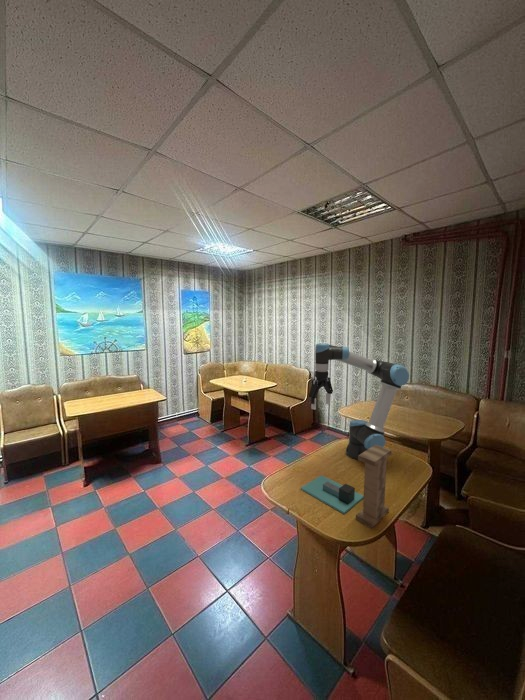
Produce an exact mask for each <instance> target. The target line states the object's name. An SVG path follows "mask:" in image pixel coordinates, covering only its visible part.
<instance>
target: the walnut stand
mask: <svg viewBox="0 0 525 700" xmlns="http://www.w3.org/2000/svg"><path fill="white" fill-rule="evenodd" d="M392 452H393V451H392V449H389V448H387V447H385V446H384V447H381V446H378V445H374V446H373V447H371V448H369V449H368V450H366V451H365V452H363V453H361V454H360V455H358V460H357V461H360V462H362V463H364V476H363V477H364V480H363V496H364V498H363V505H362V509H361V510H360V511H359V512H358V513H356V514H355V520H357V521H358V522H359V523H361V524H364V525H365V526H367V527H369V528H370V529H373V528H374V527H375V526H376V525H377V524H378V523H379V522H380V521H381V520H382V519H383V518H384V517H385V516H386V515H387V514H388V513H389V507H390V506H389V507H388V506H386V505H385V501H386V499H385V498H386V497H385V496H386V483H387V482H386V479H387V464H388V463H387V462H388V461H387V460H388V458H389V457H390V456H391V455H392Z"/></svg>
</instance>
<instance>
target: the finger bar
mask: <svg viewBox="0 0 525 700" xmlns="http://www.w3.org/2000/svg"><path fill="white" fill-rule="evenodd" d="M323 490H324V491H326V492H328V493H329V494H331V495H333V496H335V497H337V498H339V500H340V501H342V502H344V503H345V504H347V505H348V504H349V503H351V502H352V501H353V500H354V496H355V492H356V488H355V487H354V486H352V485H349V484H347V483H344V484H343V486H342V487H340V488H339V487H337V486H335V485H333V484H331V483H329V482H326V483H324V484H323Z"/></svg>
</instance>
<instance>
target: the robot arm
mask: <svg viewBox="0 0 525 700" xmlns="http://www.w3.org/2000/svg"><path fill="white" fill-rule="evenodd" d="M314 353H315V354H314V355H315V358H314V360H315V362H314V363H315V365H314V370H315V371H314V376H315V377H314V378H316V380H315V379H313V380H312V383H311V387H310V388H309V389H310V390H309V393H308V398H310V404H311V407H310V408H311V410H314V411H315V410H317V398H316V397H317V394H318V392H319V391H320V389H322V387H323V388H324V390H325V392H326V393H325V405H329V406H330V405H331V397H332V396H331V395H332V394H333V392H334V390H333V385H332V383H331V377H329V367H330V366H329V365H330V364H329V363H330V361H338V362H340V363H341V362H342V363H344V364H347V365H349V366H352V367H355V368H358V369H360V370H363V371H365V372H366V373H368V374H370V375H372V376H374V377H376V378H379V380H380V384H381V388H380V390H379V393H378V396H377V399H376V402H375V404H374V407H373V410H372V412H371V415H370V418H369V421H367V420H364V419H352V420H351V421H349V425H348V426H349V429H348V430H349V431H348V433H349V434H348V437H349V438H348V444H347V447H346V449H345V454H346V455H347V457H349V458H350V459H354V460H357V461H359V460H358V455H360V454H361V453H363V452H365V451H366V450H368V449H369V448H371V447H373V446H374V445H378V446H381V447H384V448H385V446H386V439H385V436H384V435H385V433H386V431H385V430H384V427H385V424H386V421H387V419H388V415H389V413H390V410H391V407H392V405H393V402H394V399H395V397H396V394H397V391H399V390H401V388H402V387H403V386H405V385H406V384H407V383H408V382H409V380H410V373H409V371H408V369H407V367H405V366H403V365H401V364H397V363H392V362H388V361H381V360H377V359H375V358H371V359H370V358H368V357H364V356H362V355H359V354H356V353H354V352H351V351H350V349H349V348H348V347H347V346H344V345H342V346H337V345H333V344H329V343H322V342H321V343H317V344H316V345H315V352H314Z"/></svg>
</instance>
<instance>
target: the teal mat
mask: <svg viewBox="0 0 525 700" xmlns="http://www.w3.org/2000/svg"><path fill="white" fill-rule="evenodd" d="M326 482H329V483H331V484H333V485H335V486H337V487H339V488H340V487H342V486H343V485H344V484H343V485H342V484H341V483H339V482H338V481H337V482H336V481H334V480H333V479H330V478H328V477H327V476H324V475H322V474H321V475H319V476H317V477H316V478H314V479H312V480H310V481H309V482H307V483H306V484H304V485H302V486H301V487H300V490H301V491H303V492H305V493H306V494H307V495H310V496H312V497H313V498H315V499H317V500H319V502H322V503H323V504H326V505H327V506H328V507H331V508H332V509H334V510H336V511H338V512H339V513H341V514H342V515H345V514H347V513H348V512H349V511H350V510H352V509H353V508H354V507H355V506H356V505H357V504H359V503H360V502H361V501H362V500H364V494H361V493H359V492H357V491H355V496H354V500H353V501H352V502H351V503H349V504H348V505H347V504H345V503H344V502H342V501H340V500H339V498H337V497H335V496H333V495H331V494H329V493H328V492H326V491H324V490H323V484H324V483H326Z"/></svg>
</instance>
